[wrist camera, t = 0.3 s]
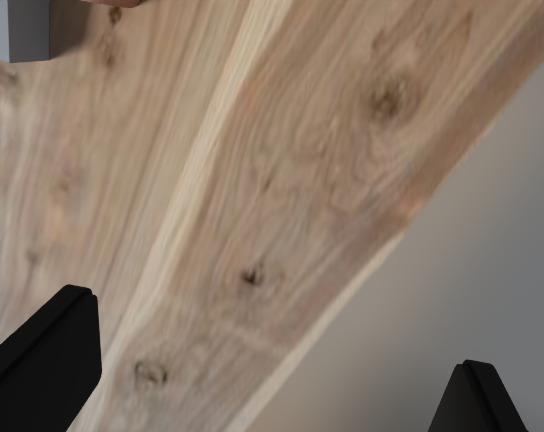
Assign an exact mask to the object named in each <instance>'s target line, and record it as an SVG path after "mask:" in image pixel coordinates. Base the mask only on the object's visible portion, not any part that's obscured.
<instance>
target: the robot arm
mask: <svg viewBox="0 0 544 432" xmlns="http://www.w3.org/2000/svg"><path fill="white" fill-rule="evenodd" d="M101 374H102V362H101V347H100V331H99V316H98V300H97V296H96V295H92V291H91V289H89V288H86V287H80V286H75V285H70V284H68V285H65V286H64V287H63V288H62V289H60V290H59V291H58V292H57V293H56V294H55V295H54V296H53V297H52V298H51V299H50V300H49V301H48V302H46V303H45V304H44V305H43V306H42V307H41V308H40V309H39V310H38V311H37V312H36V313H35V314H33V315H32V316H31V317H30V318H29V319H28V320H27V321H26V322H25V323H24V324H23V325H22V326H20V327H19V328H18V329H17V330H16V331H15V332H14V333H13V334H11V335H10V336H9V337H8V338H7V339H6V340H5V341H4V342H3V343H2V344H0V432H66V431H67V429H68V428H69V426H70V425H71V423H72V422H73V420H74V419H75V417H76V416H77V414H78V413H79V411H80V410H81V409H82V407H83V406H84V404H85V403H86V401H87V400H88V398H89V397H90V395H91V394H92V392H93V391H94V389H95V388H96V386H97V385H98V383H99V381H100V378H101ZM428 432H529V431H527V430H526V428H525V426H524V424H523V422H522V420H521V418H520V416H519V414H518V412H517V410H516V408H515V406H514V404H513V402H512V400H511V398H510V396H509V394H508V392H507V391H506V389H505V387H504V385H503V383H502V381H501V379H500V377H499V375H498V373H497V371H496V369H495V368H494V366H493V365H491V364H489V363H484V362H479V361H473V360H465V361H464V362H463V364H457V365H456V367H455V368H454V371H453V373H452V375H451V378H450V380H449V382H448V385H447V387H446V389H445V392H444V394H443V397H442V399H441V401H440V404H439V406H438V408H437V411H436V413H435V416H434V418H433V420H432V423H431V426H430V427H429V430H428Z"/></svg>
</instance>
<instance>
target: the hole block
mask: <svg viewBox="0 0 544 432" xmlns="http://www.w3.org/2000/svg"><path fill="white" fill-rule="evenodd" d="M49 22H50V0H0V61H4V62H8V63H17V62H32V61H46V60H49Z"/></svg>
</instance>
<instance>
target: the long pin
mask: <svg viewBox="0 0 544 432" xmlns="http://www.w3.org/2000/svg"><path fill="white" fill-rule="evenodd" d="M81 1H87V2H93V3H99V4H106V5H112V6H118V7H124V8H133V7H135V6H137V5H138V4H139V3H140V2H141V0H81Z"/></svg>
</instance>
